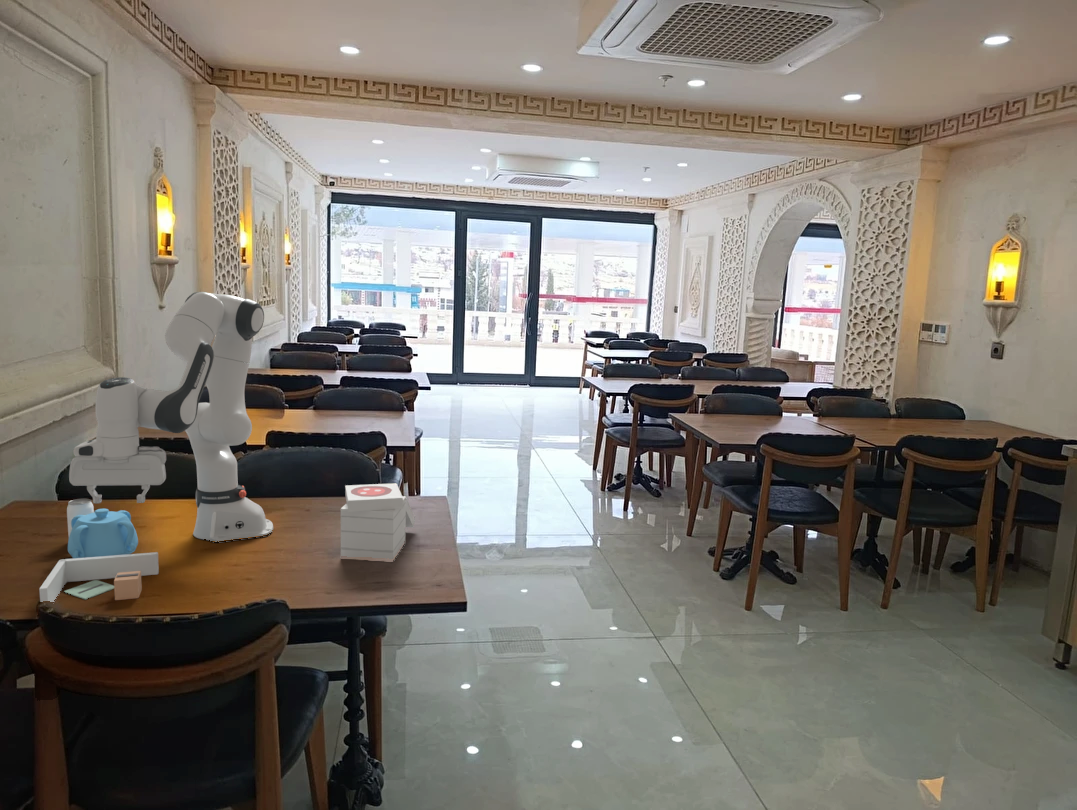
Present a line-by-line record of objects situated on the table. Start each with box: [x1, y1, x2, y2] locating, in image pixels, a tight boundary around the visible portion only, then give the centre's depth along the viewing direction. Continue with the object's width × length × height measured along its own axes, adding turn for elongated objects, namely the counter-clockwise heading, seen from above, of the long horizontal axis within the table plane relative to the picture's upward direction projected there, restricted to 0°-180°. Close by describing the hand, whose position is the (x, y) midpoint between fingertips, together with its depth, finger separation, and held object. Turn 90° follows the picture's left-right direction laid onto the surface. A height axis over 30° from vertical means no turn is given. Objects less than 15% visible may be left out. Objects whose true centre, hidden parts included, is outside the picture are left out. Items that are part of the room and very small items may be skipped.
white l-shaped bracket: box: [38, 551, 160, 603], centre depth 181 cm, size 22×18×6 cm
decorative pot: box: [67, 508, 139, 559], centre depth 200 cm, size 16×16×14 cm
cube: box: [113, 571, 143, 601], centre depth 179 cm, size 5×5×5 cm
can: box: [66, 498, 95, 537], centre depth 211 cm, size 6×6×12 cm
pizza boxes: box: [340, 482, 416, 559], centre depth 218 cm, size 19×30×18 cm, turn 177°
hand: (119, 502), depth 178 cm, fingers open, 8 cm apart
